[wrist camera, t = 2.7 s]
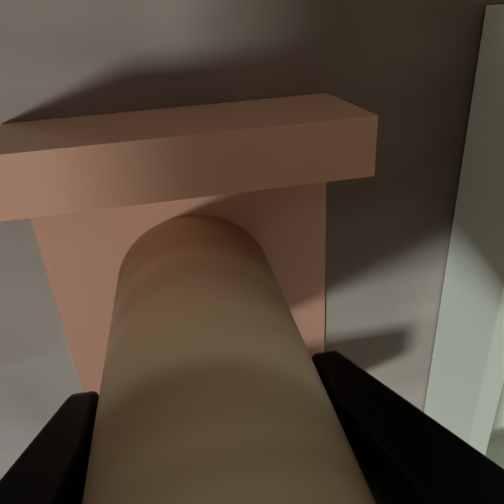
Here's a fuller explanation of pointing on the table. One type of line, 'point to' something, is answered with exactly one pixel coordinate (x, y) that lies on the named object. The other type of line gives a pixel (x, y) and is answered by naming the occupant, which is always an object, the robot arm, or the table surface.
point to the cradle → (181, 195)
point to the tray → (476, 270)
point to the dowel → (212, 383)
